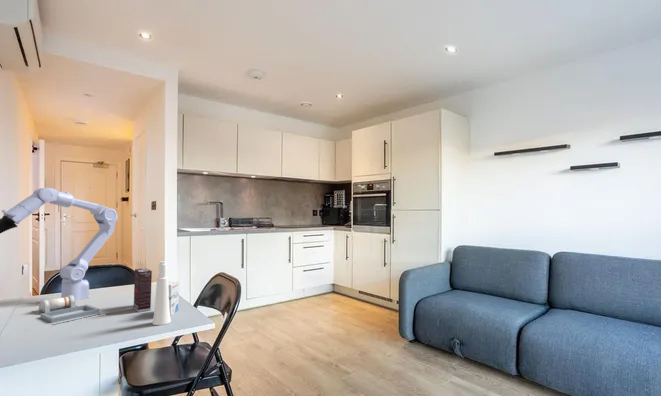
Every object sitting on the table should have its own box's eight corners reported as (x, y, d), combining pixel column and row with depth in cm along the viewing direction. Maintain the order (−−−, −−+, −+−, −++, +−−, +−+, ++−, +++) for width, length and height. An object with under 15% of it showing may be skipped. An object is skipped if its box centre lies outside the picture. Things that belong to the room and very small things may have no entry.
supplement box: (151, 310, 140) (152, 270, 141) (138, 312, 137) (139, 272, 138) (146, 305, 147) (146, 267, 147) (133, 307, 144) (134, 269, 144)
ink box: (166, 310, 141) (166, 280, 141) (178, 309, 141) (179, 280, 141) (157, 316, 132) (158, 285, 132) (170, 316, 132) (171, 285, 133)
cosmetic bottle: (168, 324, 123) (169, 262, 123) (149, 325, 121) (151, 262, 122) (172, 319, 128) (173, 259, 129) (155, 320, 127) (156, 260, 128)
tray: (86, 310, 140) (87, 304, 140) (99, 314, 134) (99, 309, 134) (40, 319, 128) (40, 313, 128) (51, 325, 121) (51, 318, 121)
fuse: (69, 305, 143) (70, 294, 143) (74, 307, 141) (74, 296, 141) (39, 311, 135) (40, 299, 135) (43, 313, 133) (44, 301, 133)
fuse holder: (71, 305, 146) (71, 297, 146) (81, 309, 141) (81, 300, 141) (32, 313, 135) (32, 303, 135) (41, 317, 130) (41, 308, 130)
